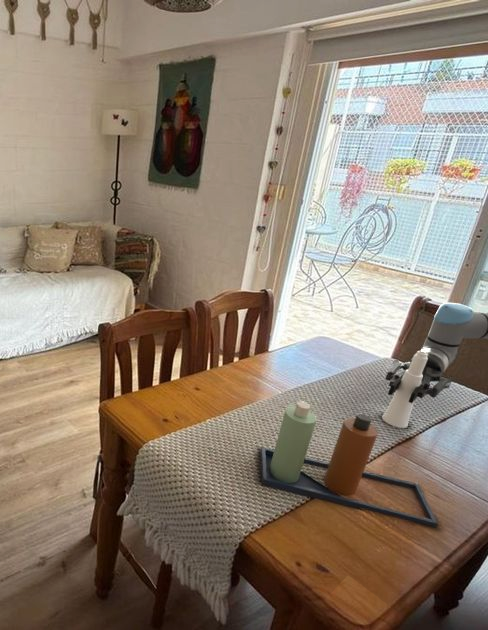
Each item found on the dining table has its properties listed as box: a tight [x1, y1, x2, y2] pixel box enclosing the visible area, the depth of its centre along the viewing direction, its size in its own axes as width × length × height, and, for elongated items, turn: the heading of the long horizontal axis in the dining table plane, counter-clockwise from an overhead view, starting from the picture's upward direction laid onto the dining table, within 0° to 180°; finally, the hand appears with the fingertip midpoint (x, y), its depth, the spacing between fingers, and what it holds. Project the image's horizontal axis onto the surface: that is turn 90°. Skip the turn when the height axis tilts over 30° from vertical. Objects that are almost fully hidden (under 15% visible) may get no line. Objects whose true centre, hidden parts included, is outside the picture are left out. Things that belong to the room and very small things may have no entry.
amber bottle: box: [323, 412, 379, 497], centre depth 91 cm, size 6×6×18 cm
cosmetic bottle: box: [381, 350, 428, 429], centre depth 113 cm, size 6×6×22 cm
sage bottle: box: [270, 400, 318, 483], centre depth 95 cm, size 6×6×18 cm
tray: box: [259, 446, 439, 528], centre depth 95 cm, size 32×11×2 cm, turn 70°
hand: (401, 394), depth 109 cm, fingers closed on cosmetic bottle, 4 cm apart
